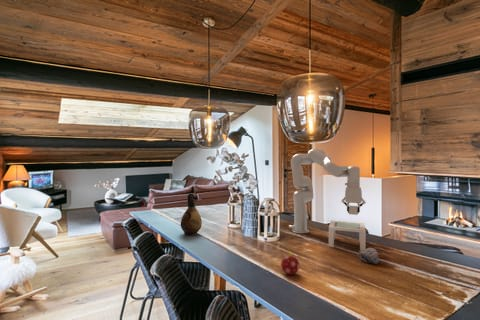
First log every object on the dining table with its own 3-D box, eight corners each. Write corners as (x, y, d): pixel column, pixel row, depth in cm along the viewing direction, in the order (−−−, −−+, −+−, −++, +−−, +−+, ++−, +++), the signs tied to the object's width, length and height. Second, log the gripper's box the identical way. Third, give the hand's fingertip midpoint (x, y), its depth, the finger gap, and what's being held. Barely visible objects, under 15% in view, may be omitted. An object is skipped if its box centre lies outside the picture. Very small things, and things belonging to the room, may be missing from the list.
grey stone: (349, 214, 180) (349, 206, 180) (349, 212, 184) (349, 205, 184) (357, 214, 178) (357, 207, 178) (357, 213, 183) (357, 205, 183)
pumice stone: (361, 268, 148) (381, 265, 145) (357, 253, 149) (377, 250, 145) (360, 261, 158) (379, 258, 154) (356, 247, 158) (374, 244, 155)
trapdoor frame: (328, 246, 177) (328, 227, 177) (330, 237, 196) (331, 220, 196) (365, 250, 169) (365, 230, 169) (364, 241, 188) (364, 223, 188)
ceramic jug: (205, 234, 203) (205, 193, 203) (185, 238, 194) (185, 195, 194) (195, 229, 217) (195, 191, 217) (176, 232, 208) (176, 192, 208)
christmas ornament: (286, 268, 141) (286, 249, 141) (302, 273, 135) (302, 252, 135) (277, 274, 134) (277, 253, 134) (293, 279, 128) (293, 257, 128)
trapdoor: (334, 228, 179) (334, 226, 179) (335, 223, 192) (335, 221, 192) (359, 230, 173) (359, 228, 173) (358, 225, 186) (358, 223, 186)
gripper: (339, 185, 181) (339, 213, 181) (368, 186, 175) (367, 215, 175) (339, 184, 188) (339, 211, 188) (367, 185, 182) (367, 213, 182)
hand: (353, 212), depth 181 cm, fingers closed on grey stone, 5 cm apart
